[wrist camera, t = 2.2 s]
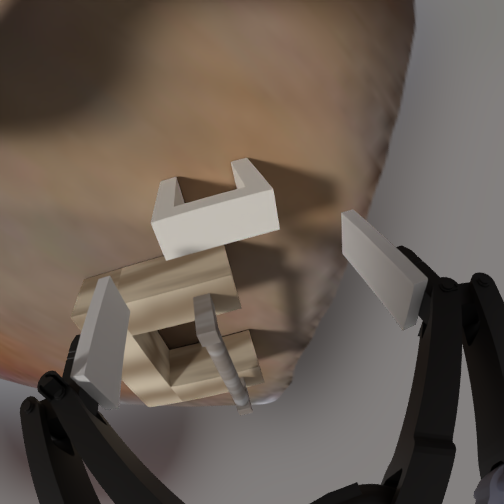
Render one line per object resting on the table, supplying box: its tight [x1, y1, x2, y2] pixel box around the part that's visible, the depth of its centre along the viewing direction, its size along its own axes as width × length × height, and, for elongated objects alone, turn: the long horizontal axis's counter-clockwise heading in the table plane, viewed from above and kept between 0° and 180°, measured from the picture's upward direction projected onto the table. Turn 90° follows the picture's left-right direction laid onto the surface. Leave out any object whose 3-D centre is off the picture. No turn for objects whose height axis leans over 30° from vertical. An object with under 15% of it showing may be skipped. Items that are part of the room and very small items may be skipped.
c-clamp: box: [71, 245, 264, 415], centre depth 29 cm, size 18×16×10 cm
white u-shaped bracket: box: [151, 158, 280, 261], centre depth 22 cm, size 3×8×8 cm, turn 101°
